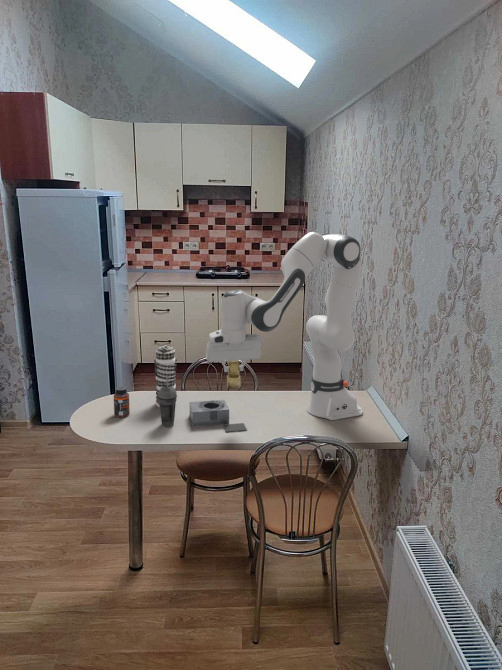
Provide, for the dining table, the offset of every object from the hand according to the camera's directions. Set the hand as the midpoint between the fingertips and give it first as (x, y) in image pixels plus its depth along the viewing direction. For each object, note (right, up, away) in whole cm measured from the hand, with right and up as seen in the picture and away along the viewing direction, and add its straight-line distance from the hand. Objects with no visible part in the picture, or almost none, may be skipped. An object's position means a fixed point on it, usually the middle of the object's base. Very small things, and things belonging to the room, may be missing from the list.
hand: (233, 371), depth 193 cm
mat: (0, -22, +5) cm, 22 cm away
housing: (-10, -20, +11) cm, 25 cm away
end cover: (0, -6, +2) cm, 6 cm away
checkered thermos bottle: (-29, -16, +26) cm, 42 cm away
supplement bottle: (-45, -19, +14) cm, 50 cm away
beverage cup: (-25, -21, +7) cm, 34 cm away
